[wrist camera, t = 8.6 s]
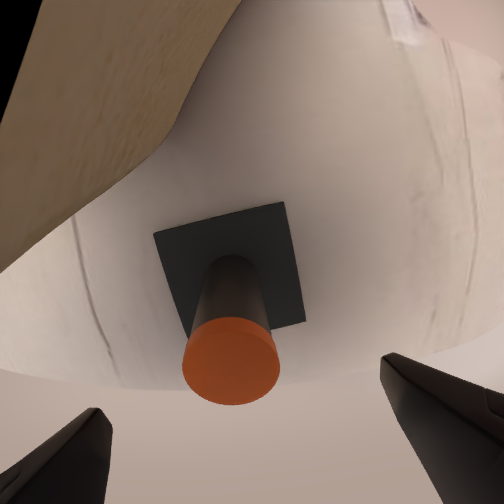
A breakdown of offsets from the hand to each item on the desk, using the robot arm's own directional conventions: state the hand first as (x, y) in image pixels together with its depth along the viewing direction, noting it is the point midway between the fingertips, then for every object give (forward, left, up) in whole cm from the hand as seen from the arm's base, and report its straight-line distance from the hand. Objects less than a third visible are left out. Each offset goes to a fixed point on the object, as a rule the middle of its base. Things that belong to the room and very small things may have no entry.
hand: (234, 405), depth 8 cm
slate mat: (0, 0, -11) cm, 11 cm away
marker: (0, 0, -11) cm, 11 cm away
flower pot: (+18, +3, -11) cm, 22 cm away
